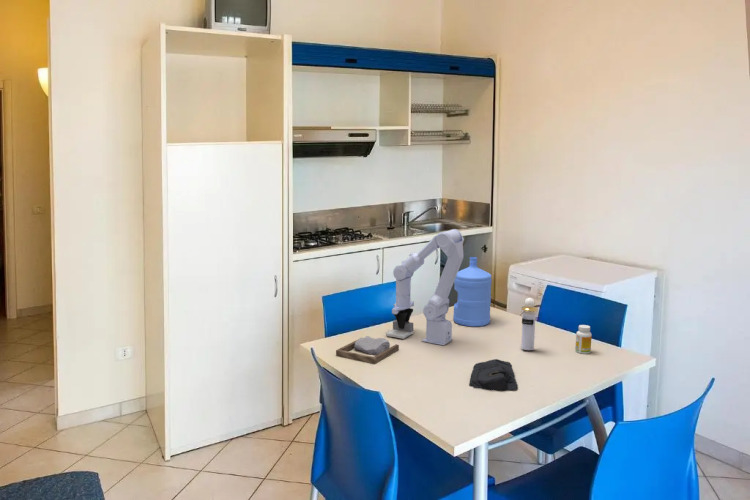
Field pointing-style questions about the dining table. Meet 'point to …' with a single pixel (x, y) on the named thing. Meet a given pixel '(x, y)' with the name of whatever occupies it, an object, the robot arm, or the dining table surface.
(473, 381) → the crumpled black cloth
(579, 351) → the supplement bottle
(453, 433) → the dining table surface
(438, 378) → the dining table surface
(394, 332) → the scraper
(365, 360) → the dock
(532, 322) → the perfume bottle
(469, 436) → the dining table surface
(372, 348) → the stone block
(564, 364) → the dining table surface
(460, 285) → the water jug
